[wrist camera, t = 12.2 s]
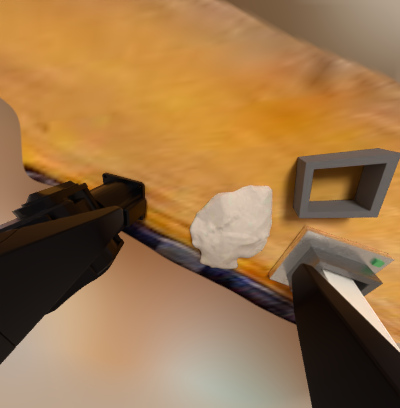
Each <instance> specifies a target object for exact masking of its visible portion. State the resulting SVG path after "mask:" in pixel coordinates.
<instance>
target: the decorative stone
mask: <svg viewBox="0 0 400 408" xmlns="http://www.w3.org/2000/svg"><path fill="white" fill-rule="evenodd" d="M271 215H272V189H271V188H270V187H269V186H253V185H249V186H246V187H242V188H240V189H239V190H236V191H234V192H223V193H218V194H216V195H215V196H214V197H213V198H212V199H211V200H210V201H209V202H208V203H207V204H206V205H205V206H204V208H203V209H201V210H200V211H198V212H197V214H196V217H195V219H194V221H193V223H192V225H191V226H190V234H191V237H192V244H193V245H194V246H195V248H198V249H200V251H201V259H200V262H201V263H202V264H205V265H208V266H210V267H212V268H214V267H217V268H222V269H233V268H237V267H238V264H237V258H240V257H244V258H250V257H252V256H254V255H256V254H257V253H259V252H260V251H262V249H263V247H264V246H265V244H266V242H267V237H269V232H270V228H271V225H272V218H271Z"/></svg>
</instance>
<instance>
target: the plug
mask: <svg viewBox="0 0 400 408" xmlns="http://www.w3.org/2000/svg"><path fill="white" fill-rule="evenodd" d="M319 273H320V274H321V275H322V276H323V277H324V278H325V279H326V280H327V281H328V282H329V283H330V284H331V285H332V286H333V287H334V288H335V289H336V290H337V291H338V292H339V293H340V294H341V295H342V296H343V297H344V298H345V299H346V300H347V301H348V302H349V303H350V304H351V305H352V306H353V307H354V308H355V309H356V310H357V311H358V312H359V313H360V314H362V315H363V316H364V317H365V318H366V319H367V320H368V321H369V322H370V323H371V324H372V325H373V326H374V327H375V328H376V329H377V330H378V331H379V332H380V333H381V334H382V335H383V336H384V337H385V338H386V339H387V340H388V341H389V342H390V343H391V344H392V345H393V346H394V347H395V348H396V349H397V350H398V351H399V352H400V349H399V348H398V346H397V345H396V343H395V342H394V340H393V339H392V337H391V336H390V334H389V333H388V331H387V330H386V328H385V327H384V325H383V324H382V323H381V321H380V320H379V318H378V317H377V315H376V314H375V312H374V311H373V309H372V308H371V306H370V305H369V303H368V302H367V300H366V299H365V298H364V296H363V295H362V293H361V292H360V290H359V289H358V287H357V286H356V284H355V283H354V281H353V280H352V278H349V277H346V276H343V275H341V274H338V273H335V272H332V271H329V270H327V269H324V268H322V269H321V270H320V271H319Z"/></svg>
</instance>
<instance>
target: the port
mask: <svg viewBox="0 0 400 408" xmlns="http://www.w3.org/2000/svg"><path fill="white" fill-rule="evenodd" d="M392 261H394V259H393V258H392V257H391V256H390V255H389V254H388V253H385V252H382V251H379V250H376V249H373V248H370V247H367V246H364V245H361V244H358V243H355V242H352V241H349V240H346V239H343V238H340V237H337V236H334V235H331V234H329V233H326V232H323V231H320V230H317V229H314V228H311V227H308V226H305V227H304V228H303V229H302V230H301V232H300V233H299V234H298V236H297V237H296V238H295V240H294V241H293V242H292V243H291V245H290V246H289V247H288V249H287V250H286V251H285V253H284V254H283V255H282V257H281V258H280V259H279V260H278V262H277V263H276V264H275V266H274V267H273V268H272V270H271V271H270V272H269V278H270V279H272V280H274V281H277V282H280V283H283V284H285V285H288V286H289V287H290V290H291V291H292V281H291V277H292V274H293V272H294V271H295V270H296V268H297V267H298V266H299V264H300V263H305V264H308V265H311V266H313V267H314V268H315V269H316V270H317V271H318V272H319V271H320V270H321V269H322V268H324V269H327V270H329V271H332V272H335V273H338V274H341V275H343V276H346V277H349V278H352V280H353V281H354V283H355V284H356V286H357V287H358V289H359V290H360V292H361V293H362V295H363V296H365V295H367V294H368V293H369V292H371V291H372V290H374V289H375V288H377V287H378V286H380V285H381V284H383V283H382V282H381V281H380V279H379V278H378V277H377V276H376V275H375V274H376V273H377V272H379V271H380V270H381V269H383V268H384V267H385V266H387V265H388V264H390V263H391V262H392Z"/></svg>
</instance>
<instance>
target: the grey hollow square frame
mask: <svg viewBox="0 0 400 408" xmlns="http://www.w3.org/2000/svg"><path fill="white" fill-rule="evenodd" d="M399 159H400V153H398V152H393V151H389V150H384V149H380V148H376V149H367V150H358V151H349V152H340V153H331V154H322V155H312V156H303V157H298V162H297V172H296V182H295V192H294V201H293V208H294V210H295V212H296V214H297V215H298V217H299V218H357V217H378V214H379V211H380V209H381V206H382V203H383V201H384V198H385V195H386V193H387V190H388V188H389V185H390V182H391V180H392V177H393V174H394V172H395V169H396V166H397V164H398V161H399ZM359 165H364V168H363V172H362V175H361V179H360V182H359V185H358V189H357V192H356V196H355V199H354V200H333V201H309V199H310V192H311V186H312V179H313V172H314V169H324V168H336V167H347V166H359Z"/></svg>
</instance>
